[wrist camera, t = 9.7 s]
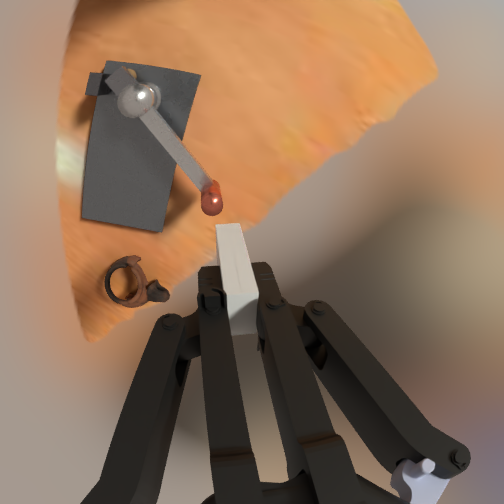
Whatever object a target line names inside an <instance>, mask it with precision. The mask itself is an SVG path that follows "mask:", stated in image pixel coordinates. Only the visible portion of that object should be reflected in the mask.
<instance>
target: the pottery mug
mask: <svg viewBox="0 0 504 504" xmlns="http://www.w3.org/2000/svg"><path fill="white" fill-rule="evenodd" d="M140 260H141V257H138V256H136V255H133V256H130V257H128V256H126V257H123V258H121V259H119V260H117V261H116V262H115V263H114V264H112V266H111V268H110V269H109V270H108V272H107V274H106V276H105V289H106V292H107V294H108V296H109V297H110V299H112V300H113V301H114V302H116V303H119V304H122V305H123V306H125V307H129V308H135V307H139V306H142V305H144V304H145V303H147V302H148V301H153V302H166V301H167V300H168V299H169V298H170V294H169V292H168V290H167V289H165V288H164V287H162V286H161V285H160V284H159V282H158V280H157V279H156V280H155V282H154V283H152V284H151V285H149V286H148V288H147V290H146V287H145V286H146V285H148V281H147V279H146V276H145V274H144V272H143V270H142V268H141V267H140V266H139V265H138V264H137V262H138V261H140ZM127 266H130V267H132V269H131V271H132V272H133V273H134V275H135V276H136V278H137V282H138V290H137V293H136V295H133V294H131V293H130V294H129V295H128V296H126V297H125V298H126V299H127V300H122V299H119V298H117V297H116V296H115V295H114V294H113V292H112V290H111V288H110V278H111V275H112V273H113V272H114V271H115V270H116V269H118V268H126V267H127Z"/></svg>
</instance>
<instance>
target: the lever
mask: <svg viewBox="0 0 504 504" xmlns="http://www.w3.org/2000/svg"><path fill="white" fill-rule="evenodd" d="M105 82H106V83H107V84H108V86H109V87H110V88H111V89H112V91H113V92H114V93H115V94H116V95H117V97H118V101H117V104H118V108H119V111H120V112H121V113H122V114H123V115H124V116H126V117H129V118H137V117H139V118H140V119H141V120H142V121H143V123H144V124H145V125H146V126H147V127H148V129H149V130H150V131H151V132H152V133H153V135H154V136H155V137H156V138H157V140H158V141H159V142H160V143H161V144H162V146H163V147H164V148H165V149H166V150H167V152H168V153H169V154H170V155H171V156H172V158H173V159H174V160H175V161H176V163H177V164H178V165H179V166H180V167H181V169H182V170H183V171H184V172H185V173H186V175H187V176H188V177H189V178H190V179H191V181H192V182H193V183H194V184H195V185H196V187H197V188H198V189H199V190H200V192H201V208H202V211H203V212H204V213H205V214H206V215H209V216H215V215H217V214H219V213H220V212H221V211H222V209H223V202H222V197H221V191H220V186H219V184H218V182H217V181H215V180H212V178H211V177H210V176H209V175H208V173H207V172H206V171H205V170H204V168H203V167H202V166H201V165H200V163H199V162H198V161H197V160H196V158H195V157H194V156H193V155H192V153H191V152H190V151H189V150H188V148H187V147H186V146H185V145H184V143H183V142H182V141H181V140H180V138H179V137H178V136H177V135H176V133H175V132H174V131H173V130H172V128H171V127H170V126H169V125H168V124H167V122H166V121H165V120H164V119H163V117H162V116H161V115H160V114H159V112H158V111H157V110H156V109H155V106H156V104H157V101H158V95H157V92H156V90H155V89H154V88H153V87H152V86H150V85H147V84H139V83H138V81H137V80H136V79H135V78H134V77H133V75H132V74H131V73H130V72H129V71H128V69H127V68H126V67H124V66H121V67H120V68H118V69H117V70H116V71H115V72H114V73H113V74H112V75H110V76H109V77H108V78H107V79H106V80H105Z"/></svg>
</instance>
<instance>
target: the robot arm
mask: <svg viewBox="0 0 504 504" xmlns="http://www.w3.org/2000/svg"><path fill="white" fill-rule="evenodd" d="M216 249H217V264H218V266H206V267H201V269H200V270H199V272H198V288H199V293H198V295H197V301H198V309H197V310H196V312H194V313H193V314H191V315H189V316H187V317H183V318H182V317H181V316H179V315H177V314H166V315H163V316H161V317H160V318H159V319H158V320H157V321H156V323H155V326H154V328H153V331H152V333H151V336H150V338H149V341H148V343H147V345H146V348H145V350H144V353H143V355H142V358H141V361H140V363H139V366H138V368H137V371H136V373H135V376H134V379H133V381H132V384H131V387H130V390H129V392H128V395H127V398H126V401H125V403H124V406H123V409H122V412H121V414H120V417H119V420H118V423H117V426H116V429H115V432H114V435H113V438H112V441H111V444H110V447H109V450H108V454H107V457H106V460H105V463H104V467H103V470H102V474H101V477H100V480H99V481H98V482H97V484H96V485H95V486H94V488H93V489H92V490H91V491H90V492H89V494H88V495H87V496H86V497H85V498H84V500H83V501H82V502H81V503H80V504H156V503H157V499H158V496H159V493H160V489H161V484H162V479H163V474H164V470H165V466H166V461H167V457H168V453H169V448H170V444H171V440H172V435H173V431H174V427H175V423H176V419H177V415H178V411H179V407H180V403H181V398H182V395H183V390H184V386H185V382H186V379H187V375H188V371H189V367H190V363H191V359H192V358H195V357H198V356H201V362H202V376H203V388H204V400H205V410H206V421H207V430H208V438H209V448H210V464H211V471H212V480H213V487H214V494H212V495H211V496H209V497H208V498H206V499H205V500H204V501H203V502H202V503H201V504H436V503H437V501H438V500H439V498H440V496H441V494H442V493H443V491H444V489H445V487H446V485H447V484H448V482H449V480H450V479H451V478H452V477H454V476H456V475H458V474H460V473H461V472H463V471H464V470H466V469H467V467H468V466H469V463H470V459H471V457H470V452H469V450H468V448H467V447H466V446H465V445H463V444H462V443H460V442H458V441H456V440H455V439H453V438H451V437H450V436H448V435H446V434H445V433H443V432H441V431H440V430H438V429H436V428H435V427H433V426H432V425H431V424H430V423H429V422H428V420H427V419H426V418H425V417H424V416H423V414H422V413H421V412H420V411H419V409H418V408H417V407H416V406H415V405H414V403H413V402H412V401H411V400H410V399H409V397H408V396H407V395H406V394H405V393H404V391H403V390H402V389H401V388H400V387H399V385H398V384H397V383H396V382H395V381H394V379H393V378H392V377H391V376H390V375H389V373H388V372H387V371H386V370H385V369H384V368H383V366H382V365H381V364H380V363H379V362H378V361H377V359H376V358H375V357H374V356H373V355H372V354H371V352H370V351H369V350H368V349H367V348H366V347H365V345H364V344H363V343H362V342H361V341H360V340H359V338H358V337H357V336H356V335H355V334H354V333H353V331H352V330H351V329H350V328H349V327H348V326H347V325H346V323H345V322H344V321H343V320H342V319H341V318H340V317H339V315H338V314H337V313H336V312H335V311H334V310H333V309H332V307H331V306H330V305H328V304H327V303H326V302H323V301H319V300H314V301H310V302H308V303H307V304H306V306H305V307H301V306H295V305H291V304H289V303H288V302H287V301H286V299H284V298H283V297H282V296H281V293H280V291H279V288H278V285H277V283H276V280H275V277H274V274H273V271H272V269H271V267H270V266H269V265H268V264H267V263H266V262H256V263H250V259H249V255H248V252H247V248H246V245H245V241H244V237H243V234H242V230H241V226H240V223H234V224H216ZM256 329H257V330H258V345H257V350H258V351H259V350H260V352H261V357H262V361H263V364H264V369H265V374H266V378H267V382H268V386H269V390H270V394H271V399H272V403H273V407H274V411H275V415H276V419H277V424H278V428H279V432H280V435H281V440H282V444H283V447H284V452H285V456H286V460H287V473H288V478H289V480H288V481H286V482H284V483H271V482H260V480H259V475H258V470H257V466H256V461H255V457H254V453H253V452H252V448H251V443H250V438H249V433H248V428H247V423H246V417H245V412H244V406H243V401H242V396H241V389H240V384H239V378H238V372H237V366H236V360H235V354H234V348H233V342H232V335H241V334H252V333H256ZM312 369H313V370H314V372H315V373H316V375H317V376H318V378H319V379H320V381H321V382H322V383H323V385H324V386H325V388H326V389H327V390H328V392H329V393H330V395H331V396H332V398H333V399H334V401H335V402H336V403H337V405H338V406H339V408H340V409H341V411H342V412H343V413H344V415H345V416H346V418H347V419H348V420H349V422H350V423H351V425H352V426H353V427H354V429H355V430H356V432H357V433H358V435H359V436H360V437H361V439H362V440H363V442H364V443H365V444H366V446H367V447H368V449H369V450H370V451H371V452H372V454H373V455H374V457H375V458H376V459H377V461H378V462H379V463H380V464H381V465H382V466H383V467H384V468H385V469H386V470H387V471H389V472H390V473H391V474H392V477H391V482H390V483H391V484H390V485H391V486H392V488H394V489H395V490H397V492H398V493H399V496H400V498H399V497H397V496H395V495H393V494H391V493H390V492H388V491H386V490H384V489H382V488H381V487H379V486H377V485H375V484H373V483H372V482H370V481H368V480H367V479H365V478H363V477H362V476H360V475H358V474H356V473H355V470H354V467H353V464H352V461H351V459H350V456H349V453H348V450H347V447H346V444H345V442H344V440H343V439H342V437H341V436H340V435H338V434H336V433H335V431H334V429H333V426H332V423H331V420H330V418H329V415H328V412H327V409H326V406H325V404H324V401H323V398H322V395H321V392H320V389H319V386H318V384H317V381H316V378H315V375H314V373H313V370H312Z"/></svg>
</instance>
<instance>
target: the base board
mask: <svg viewBox="0 0 504 504" xmlns="http://www.w3.org/2000/svg"><path fill="white" fill-rule="evenodd" d="M121 66H124V67H126V68H127V69H132V70H134V71H135V72H136V75H137V78H136V80H137V81H138V83H139V84H147V85H150V86H152V87H153V88H154V89H155V90H156V92H157V95H158V101H157V104H156V106H155V109H156V110H157V111H158V112H159V114H160V115H161V116H162V117H163V119H164V120H165V121H166V122H167V124H168V125H169V126H170V127H171V128H172V130H173V131H174V132H175V133H176V135H177V136H178V137H179V138H180V140H181V141H182V140H183V136H184V132H185V129H186V125H187V121H188V118H189V114H190V111H191V107H192V104H193V100H194V97H195V94H196V91H197V87H198V84H199V81H200V78H201V75H198V74H194V73H189V72H184V71H179V70H174V69H168V68H162V67H156V66H149V65H142V64H135V63H126V62H116V61H106V64H105V68H104V72H103V73H91V72H90V75H89V79H88V83H87V88H86V92H85V95H93V96H97V101H96V106H95V111H94V116H93V121H92V127H91V133H90V139H89V146H88V153H87V161H86V170H85V180H84V192H83V208H82V218H86V219H92V220H97V221H102V222H108V223H113V224H119V225H124V226H129V227H135V228H140V229H146V230H151V231H156V232H162V231H163V226H164V221H165V215H166V210H167V205H168V200H169V196H170V191H171V186H172V182H173V177H174V173H175V169H176V164H177V163H176V161H175V160H174V159H173V158H172V156H171V155H170V154H169V153H168V152H167V150H166V149H165V148H164V147H163V146H162V144H161V143H160V142H159V141H158V140H157V138H156V137H155V136H154V135H153V133H152V132H151V131H150V130H149V129H148V127H147V126H146V125H145V124H144V123H143V121H142V120H141V119H140V118H139V117H137V118H129V117H126V116H124V115H123V114H122V113H121V112H120V111H119V108H118V104H117V101H118V97H117V95H116V94H115V93H114V92H113V91H112V89H111V88H110V87H109V86H108V84H107V83H106V82H105V80H106V79H107V78H108V77H109V76H110V75H112V74H113V73H114V72H115V71H116V70H117V69H118V68H120V67H121Z"/></svg>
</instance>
